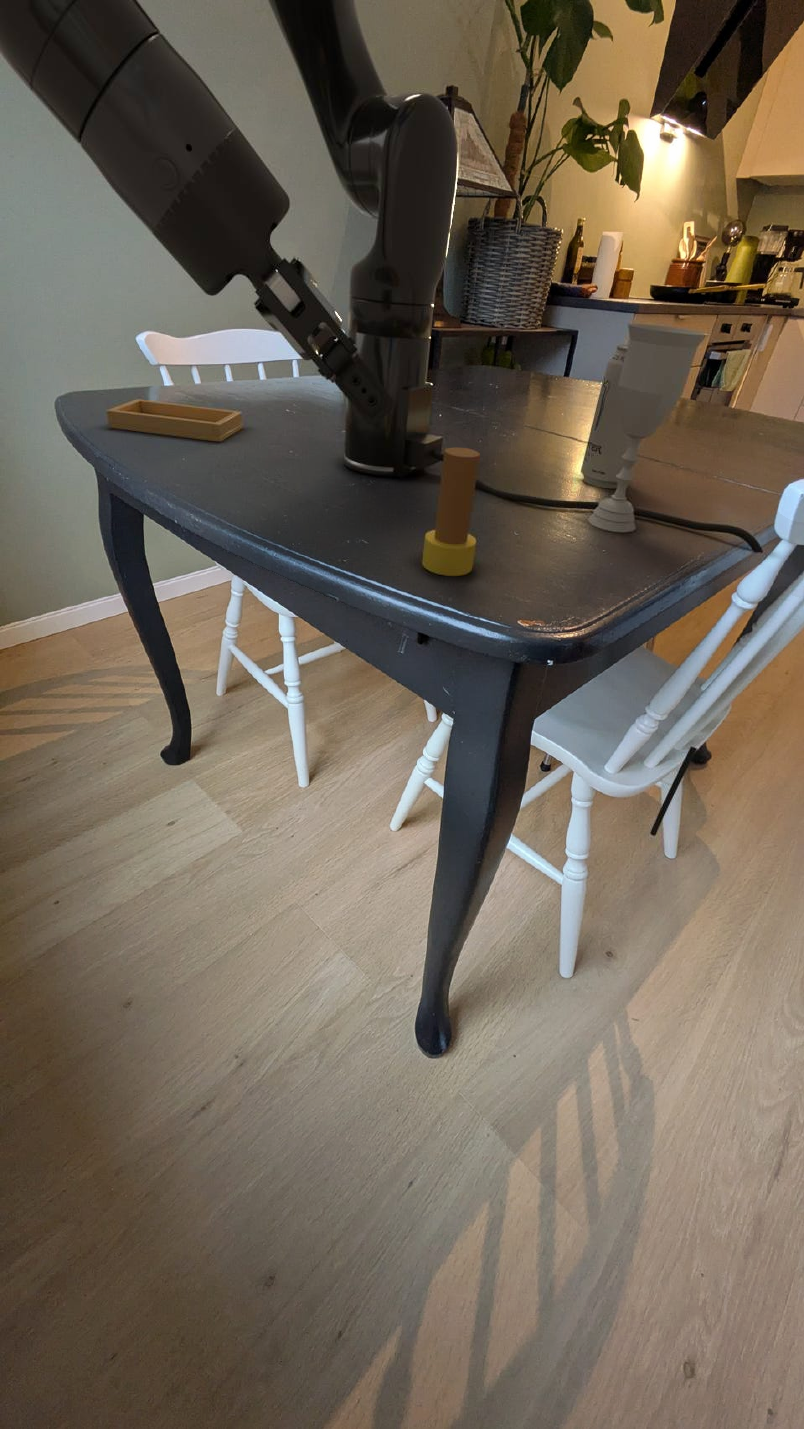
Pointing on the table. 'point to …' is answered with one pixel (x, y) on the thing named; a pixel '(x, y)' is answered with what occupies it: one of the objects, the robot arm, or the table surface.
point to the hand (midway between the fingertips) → (372, 401)
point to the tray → (175, 420)
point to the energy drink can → (607, 430)
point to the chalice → (646, 403)
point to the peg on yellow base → (453, 516)
